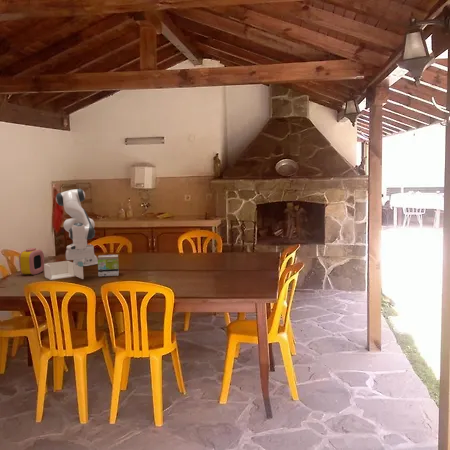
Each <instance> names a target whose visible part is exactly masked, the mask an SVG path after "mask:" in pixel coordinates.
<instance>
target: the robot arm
mask: <svg viewBox="0 0 450 450" xmlns="http://www.w3.org/2000/svg"><path fill="white" fill-rule="evenodd" d="M85 199H86V193H85V191H84V190H83V189H82V188H76V189H68V190H65V191H62V192H58V193H56V194H55V202H56V203H57V204H58V206H61V207H63V208H64V212H65V213H66V214H67V215H69V216H70V217H71V218H66V219H65V220H64V222H63V229H64V230H65V232H68V237H69V239H70V240H72V243H71V244H69V245H67V246H66V248H65V249H66V250H65V260H66V261H73V263H75V266H76V265H78V262H80V261H81V262H83V266H82V267H89V266H94V265H98V256H97V255H96V254H95V248H94V247H95V245H93V244H91V243H90V244H88V240H92V239H93V238H95V236H96V230H95V226H96V224H95V221H94V219H93V218H90V217H89V215H88V213H87V212H86V210H85V208H83V207H82V205H81V202H84V201H85Z"/></svg>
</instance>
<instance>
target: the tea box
mask: <svg viewBox="0 0 450 450" xmlns="http://www.w3.org/2000/svg"><path fill="white" fill-rule="evenodd" d="M97 260H98V264H97V276H98V277H113V276H114V277H116V276H117V277H118V276H119V273H120V272H119V271H120V269H119V268H120V267H119V263H120V261H119V254H102V255H101V254H99V255H98V256H97Z"/></svg>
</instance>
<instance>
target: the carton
mask: <svg viewBox="0 0 450 450" xmlns="http://www.w3.org/2000/svg"><path fill="white" fill-rule="evenodd" d="M43 271H44V278H45V279H47V280H50V281H55V280H60V279H67V278H72V277H75V276H74V264H73V262H72V261H71V260H63V261H55V262H47V263H44V270H43Z"/></svg>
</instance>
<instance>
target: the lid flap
mask: <svg viewBox="0 0 450 450" xmlns="http://www.w3.org/2000/svg"><path fill="white" fill-rule="evenodd" d="M73 264H74V277H77V278H79V279H81V280H84V266H83V262H81V261H80V262H78V265H76V266H75V263H73Z"/></svg>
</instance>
